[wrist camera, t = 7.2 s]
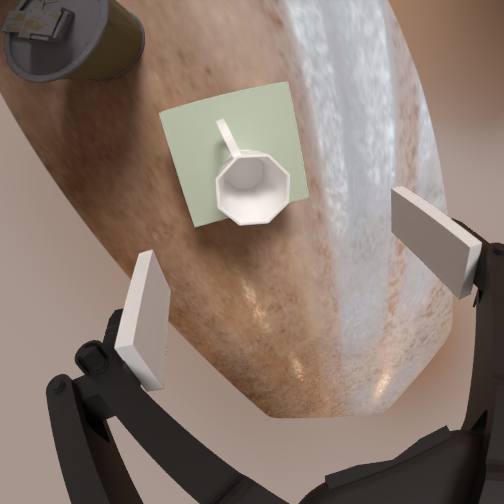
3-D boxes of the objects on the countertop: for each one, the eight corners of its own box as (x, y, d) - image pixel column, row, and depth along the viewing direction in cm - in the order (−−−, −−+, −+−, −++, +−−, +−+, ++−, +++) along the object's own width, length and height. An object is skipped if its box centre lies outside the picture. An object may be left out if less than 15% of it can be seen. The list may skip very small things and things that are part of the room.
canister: (157, 18, 31) (122, -31, 13) (126, 88, 35) (66, 95, 18) (87, 3, 27) (15, -37, 10) (59, 71, 31) (-30, 76, 14)
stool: (167, 107, 37) (159, 113, 30) (271, 82, 37) (288, 81, 30) (195, 201, 44) (194, 227, 37) (290, 177, 45) (308, 197, 37)
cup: (227, 207, 36) (234, 239, 30) (187, 130, 31) (183, 143, 24) (282, 181, 36) (303, 207, 29) (248, 102, 31) (261, 107, 24)
